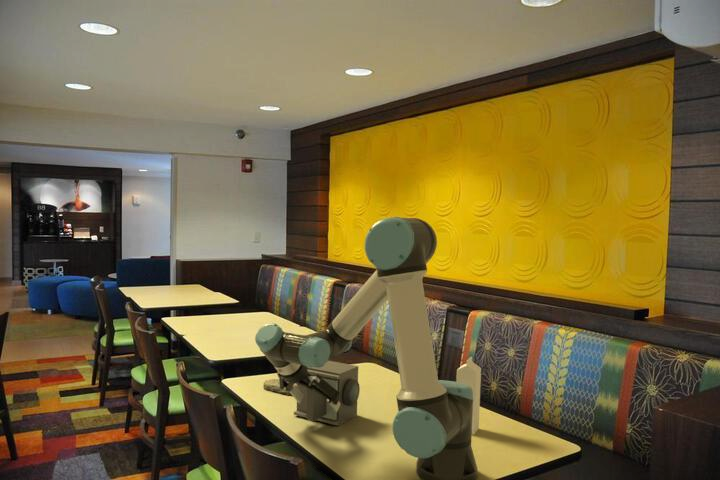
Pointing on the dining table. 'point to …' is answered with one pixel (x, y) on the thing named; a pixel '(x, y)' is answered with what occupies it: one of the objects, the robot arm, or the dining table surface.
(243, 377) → the dining table surface
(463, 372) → the milk
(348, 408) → the camera box
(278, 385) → the long grey stone
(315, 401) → the door
